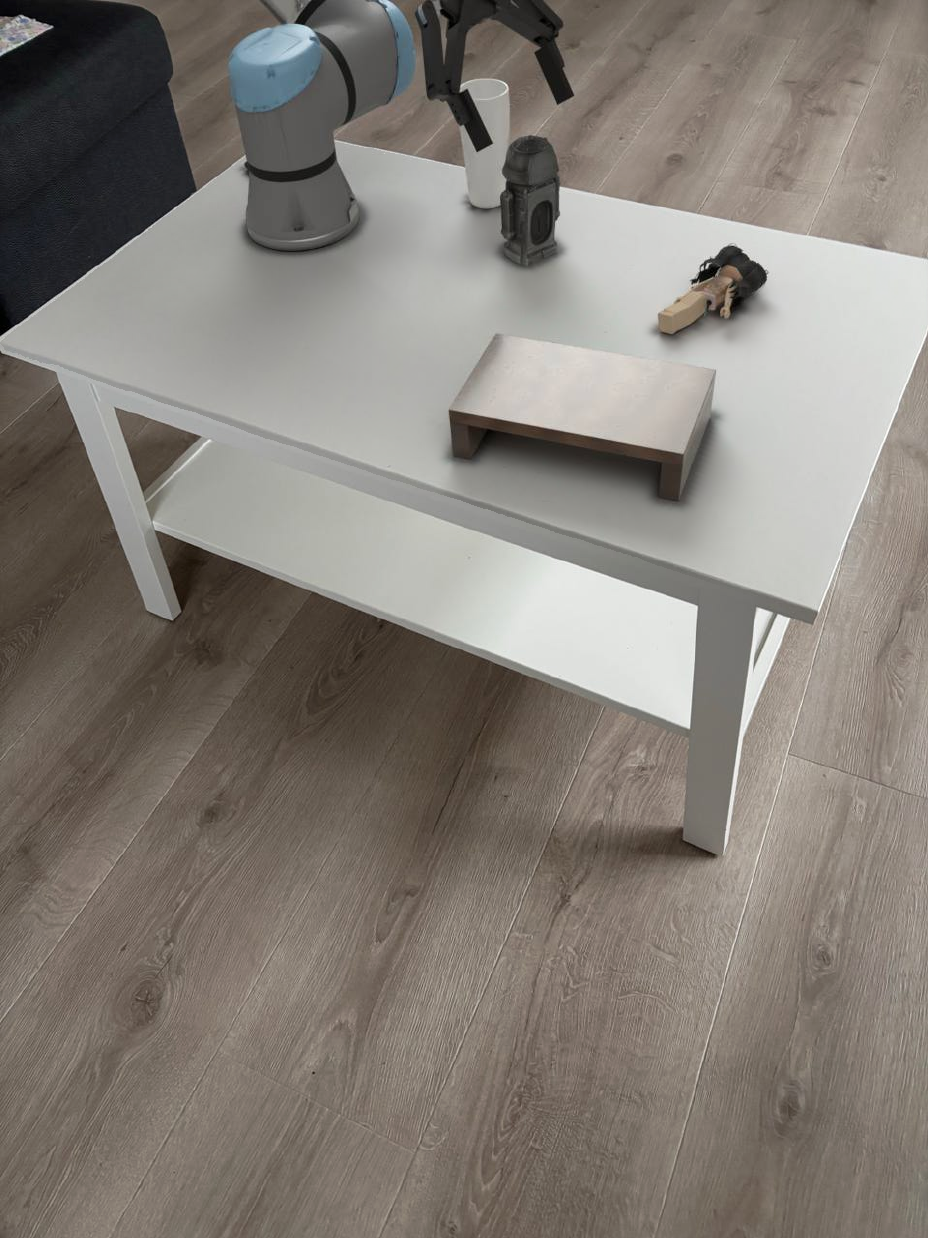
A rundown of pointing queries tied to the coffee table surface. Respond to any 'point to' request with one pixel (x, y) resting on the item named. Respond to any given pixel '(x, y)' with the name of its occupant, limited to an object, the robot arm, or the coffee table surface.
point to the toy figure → (715, 289)
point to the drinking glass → (489, 161)
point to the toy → (530, 200)
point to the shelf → (587, 403)
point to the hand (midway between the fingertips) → (526, 123)
